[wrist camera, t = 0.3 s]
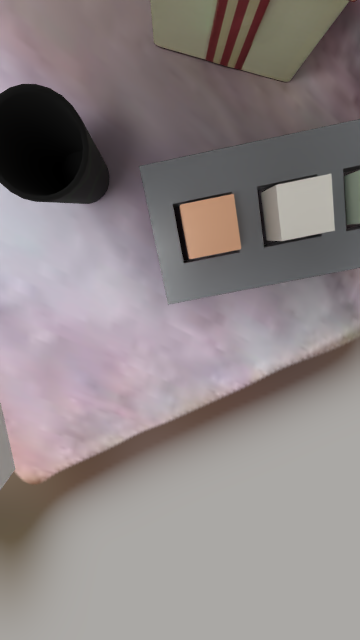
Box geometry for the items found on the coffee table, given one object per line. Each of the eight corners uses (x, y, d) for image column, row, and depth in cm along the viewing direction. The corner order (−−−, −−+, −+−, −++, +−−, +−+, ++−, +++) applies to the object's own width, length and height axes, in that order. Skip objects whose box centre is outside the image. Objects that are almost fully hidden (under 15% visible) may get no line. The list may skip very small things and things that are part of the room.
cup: (130, 161, 33) (105, 120, 22) (101, 226, 35) (63, 220, 23) (64, 123, 32) (1, 59, 21) (38, 191, 34) (-34, 168, 22)
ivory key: (260, 193, 31) (276, 185, 27) (307, 183, 31) (331, 173, 26) (266, 240, 33) (281, 241, 28) (311, 231, 32) (334, 230, 28)
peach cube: (179, 209, 32) (179, 204, 27) (225, 200, 32) (233, 193, 27) (187, 256, 33) (189, 259, 28) (232, 247, 33) (241, 249, 28)
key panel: (143, 174, 34) (139, 166, 30) (401, 119, 32) (432, 103, 29) (169, 297, 37) (168, 304, 33) (402, 252, 36) (429, 254, 32)
